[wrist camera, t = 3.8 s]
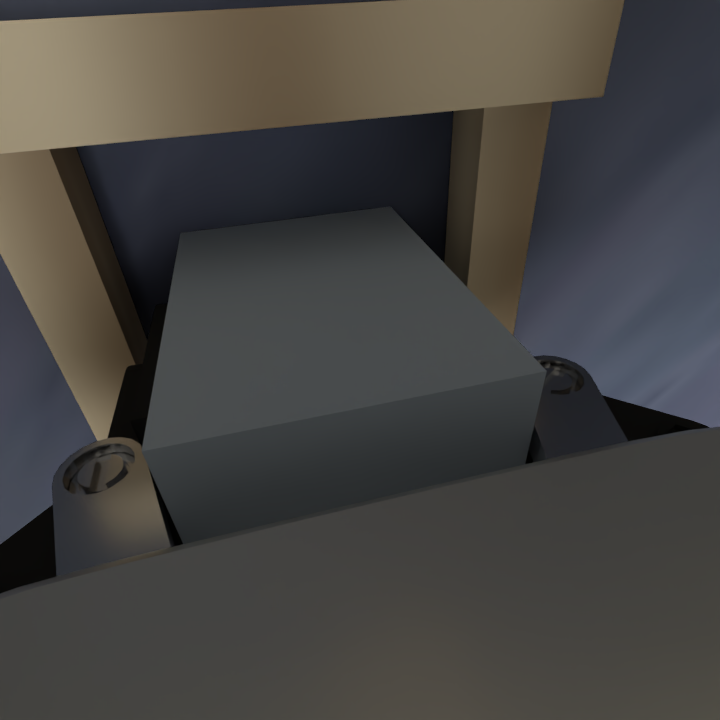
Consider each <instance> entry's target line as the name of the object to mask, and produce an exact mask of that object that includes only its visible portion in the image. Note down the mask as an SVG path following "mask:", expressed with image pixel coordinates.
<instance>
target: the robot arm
mask: <svg viewBox="0 0 720 720" xmlns="http://www.w3.org/2000/svg"><path fill="white" fill-rule="evenodd" d="M167 305H168V303H166V304H159V305H156V306H155V309H154V314H153V319H152V323H151V328H150V332H149V337H148V341H147V346H146V350H145V355H144V359H143V364H137V365H131V366H128V367H127V368H126V370H125V374H124V378H123V381H122V385H121V389H120V393H119V396H118V400H117V404H116V408H115V411H114V415H113V419H112V423H111V426H110V430H109V434H108V438H107V439H103V440H99V441H96V442H93V443H91V444H89V445H87V446H85V447H82V448H81V449H79V450H78V451H76V452H75V453H73V454H72V455H70V456H69V457H68V458H67V459H66V460H65V461H64V462H63V463H62V464H61V465H60V466H59V468H58V470H57V471H56V473H55V475H54V477H53V483H52V498H53V505H52V506H50V507H49V508H48V509H47V510H45V511H44V512H43V513H41V514H40V515H39V516H37V517H36V518H35V519H33V520H32V521H31V522H29V523H28V524H27V525H25V526H24V527H23V528H21V529H20V530H19V531H18V532H16V533H15V534H14V535H12V536H11V537H10V538H8V539H7V540H6V541H4V542H3V543H2V544H0V720H720V427H713V428H709V427H707V426H705V425H703V424H700V423H697V422H694V421H691V420H688V419H684V418H681V417H677V416H674V415H670V414H666V413H663V412H659V411H656V410H652V409H649V408H645V407H642V406H638V405H634V404H631V403H627V402H624V401H620V400H617V399H613V398H610V397H606V396H603V395H602V394H601V393H600V391H599V389H598V388H597V386H596V384H595V382H594V381H593V379H592V377H591V376H590V374H589V373H588V372H587V371H586V370H585V369H584V368H583V367H581V366H580V365H578V364H577V363H575V362H572V361H570V360H568V359H564V358H560V357H556V356H545V355H543V356H534V358H535V359H536V360H537V361H538V362H539V363H540V365H541V366H542V367H543V368H544V369H545V370H546V371H547V372H546V376H545V381H544V385H543V389H542V394H541V398H540V402H539V406H538V411H537V415H536V419H535V424H534V428H533V432H532V437H531V441H530V445H529V450H528V454H527V458H526V462H525V464H524V465H520V466H515V467H511V468H507V469H502V470H498V471H493V472H489V473H485V474H480V475H476V476H471V477H467V478H463V479H458V480H454V481H450V482H445V483H441V484H437V485H432V486H428V487H424V488H420V489H415V490H411V491H407V492H402V493H398V494H394V495H389V496H385V497H381V498H376V499H372V500H368V501H364V502H359V503H355V504H351V505H347V506H342V507H338V508H334V509H329V510H325V511H321V512H317V513H312V514H308V515H304V516H300V517H296V518H291V519H287V520H283V521H279V522H275V523H270V524H266V525H262V526H258V527H254V528H249V529H245V530H241V531H237V532H233V533H228V534H224V535H220V536H216V537H212V538H207V539H203V540H199V541H195V542H191V543H186V544H183V542H182V540H181V538H180V536H179V533H178V531H177V529H176V527H175V524H174V522H173V520H172V518H171V516H170V513H169V511H168V509H167V507H166V505H165V502H164V500H163V498H162V496H161V493H160V491H159V489H158V487H157V485H156V482H155V480H154V478H153V476H152V473H151V471H150V469H149V467H148V465H147V462H146V460H145V458H144V456H143V454H142V446H143V440H144V434H145V429H146V423H147V418H148V412H149V406H150V401H151V395H152V390H153V384H154V378H155V373H156V367H157V361H158V356H159V350H160V345H161V339H162V333H163V328H164V322H165V317H166V311H167Z"/></svg>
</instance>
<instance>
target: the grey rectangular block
mask: <svg viewBox="0 0 720 720" xmlns="http://www.w3.org/2000/svg"><path fill="white" fill-rule="evenodd" d="M546 372H547V371H546V370H545V369H544V368H543V367H542V366H541V365H540V363H539V362H538V361H537V360H536V359H535V358H534V357H533V356H532V355H531V354H530V353H529V352H528V351H527V350H526V349H525V348H524V347H523V346H522V345H521V343H520V342H519V341H518V340H517V339H516V338H515V337H514V336H513V335H512V334H511V333H510V332H509V331H508V330H507V329H506V328H505V327H504V326H503V325H502V323H501V322H500V321H499V320H498V319H497V318H496V317H495V316H494V315H493V314H492V313H491V312H490V311H489V310H488V309H487V308H486V307H485V306H484V305H483V303H482V302H481V301H480V300H479V299H478V298H477V297H476V296H475V295H474V294H473V293H472V292H471V291H470V290H469V289H468V288H467V287H466V286H465V285H464V283H463V282H462V281H461V280H460V279H459V278H458V277H457V276H456V275H455V274H454V273H453V272H452V271H451V270H450V269H449V268H448V267H447V266H446V265H445V263H444V262H443V261H442V260H441V259H440V258H439V257H438V256H437V255H436V254H435V253H434V252H433V251H432V250H431V249H430V248H429V247H428V246H427V245H426V244H425V242H424V241H423V240H422V239H421V238H420V237H419V236H418V235H417V234H416V233H415V232H414V231H413V230H412V229H411V228H410V227H409V226H408V225H407V224H406V222H405V221H404V220H403V219H402V218H401V217H400V216H399V215H398V214H397V213H396V212H395V211H394V210H393V209H392V208H391V207H382V208H374V209H367V210H359V211H351V212H343V213H335V214H327V215H319V216H311V217H303V218H295V219H287V220H279V221H271V222H264V223H256V224H248V225H240V226H232V227H224V228H216V229H208V230H200V231H192V232H184V233H180V238H179V244H178V249H177V255H176V260H175V266H174V272H173V277H172V283H171V289H170V294H169V300H168V305H167V311H166V317H165V322H164V328H163V333H162V339H161V345H160V350H159V356H158V361H157V367H156V373H155V378H154V384H153V390H152V395H151V401H150V406H149V412H148V418H147V423H146V429H145V434H144V440H143V446H142V454H143V456H144V458H145V460H146V462H147V465H148V467H149V469H150V471H151V473H152V476H153V478H154V480H155V482H156V485H157V487H158V489H159V491H160V493H161V496H162V498H163V500H164V502H165V505H166V507H167V509H168V511H169V513H170V516H171V518H172V520H173V522H174V524H175V527H176V529H177V531H178V533H179V536H180V538H181V540H182V542H183V544H186V543H191V542H195V541H199V540H203V539H207V538H212V537H216V536H220V535H224V534H228V533H233V532H237V531H241V530H245V529H249V528H254V527H258V526H262V525H266V524H270V523H275V522H279V521H283V520H287V519H291V518H296V517H300V516H304V515H308V514H312V513H317V512H321V511H325V510H329V509H334V508H338V507H342V506H347V505H351V504H355V503H359V502H364V501H368V500H372V499H376V498H381V497H385V496H389V495H394V494H398V493H402V492H407V491H411V490H415V489H420V488H424V487H428V486H432V485H437V484H441V483H445V482H450V481H454V480H458V479H463V478H467V477H471V476H476V475H480V474H485V473H489V472H493V471H498V470H502V469H507V468H511V467H515V466H520V465H524V464H525V462H526V458H527V454H528V450H529V445H530V441H531V437H532V432H533V428H534V424H535V419H536V415H537V411H538V406H539V402H540V398H541V394H542V389H543V385H544V381H545V376H546Z"/></svg>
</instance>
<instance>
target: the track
mask: <svg viewBox="0 0 720 720" xmlns="http://www.w3.org/2000/svg"><path fill="white" fill-rule="evenodd" d="M624 1H625V0H395V1H375V2H356V3H337V4H318V5H299V6H280V7H260V8H241V9H222V10H203V11H184V12H165V13H145V14H126V15H107V16H88V17H69V18H50V19H31V20H11V21H0V254H1V256H2V258H3V260H4V262H5V264H6V266H7V267H8V269H9V271H10V273H11V275H12V277H13V279H14V281H15V283H16V285H17V287H18V289H19V291H20V292H21V294H22V296H23V298H24V300H25V302H26V304H27V306H28V308H29V310H30V312H31V314H32V316H33V318H34V319H35V321H36V323H37V325H38V327H39V329H40V331H41V333H42V335H43V337H44V339H45V341H46V343H47V344H48V346H49V348H50V350H51V352H52V354H53V356H54V358H55V360H56V362H57V364H58V366H59V368H60V369H61V371H62V373H63V375H64V377H65V379H66V381H67V383H68V385H69V387H70V389H71V391H72V393H73V394H74V396H75V398H76V400H77V402H78V404H79V406H80V408H81V410H82V412H83V414H84V416H85V418H86V419H87V421H88V423H89V425H90V427H91V429H92V431H93V433H94V435H95V437H96V439H97V441H99V440H103V439H107V438H108V434H109V430H110V426H111V423H112V419H113V415H114V411H115V408H116V404H117V400H118V396H119V393H120V389H121V385H122V381H123V378H124V374H125V370H126V368H127V367H128V366H131V365H137V364H143V359H144V355H145V350H146V346H147V339H146V336H145V333H144V330H143V328H142V325H141V322H140V320H139V317H138V314H137V311H136V309H135V306H134V303H133V301H132V298H131V295H130V293H129V290H128V287H127V284H126V282H125V279H124V276H123V274H122V271H121V268H120V265H119V263H118V260H117V257H116V255H115V252H114V249H113V247H112V244H111V241H110V238H109V236H108V233H107V230H106V228H105V225H104V222H103V220H102V217H101V214H100V211H99V209H98V206H97V203H96V201H95V198H94V195H93V192H92V190H91V187H90V184H89V182H88V179H87V176H86V174H85V171H84V168H83V165H82V163H81V160H80V157H79V155H78V152H77V149H76V147H77V146H87V145H98V144H109V143H119V142H130V141H140V140H151V139H161V138H172V137H183V136H193V135H204V134H214V133H225V132H235V131H246V130H256V129H267V128H278V127H288V126H299V125H309V124H320V123H330V122H341V121H351V120H362V119H373V118H383V117H394V116H404V115H415V114H425V113H436V112H447V111H454V114H453V130H452V146H451V163H450V179H449V195H448V212H447V228H446V244H445V260H444V263H445V265H446V266H447V267H448V268H449V269H450V270H451V271H452V272H453V273H454V274H455V275H456V276H457V277H458V278H459V279H460V280H461V281H462V282H463V283H464V285H465V286H466V287H467V288H468V289H469V290H470V291H471V292H472V293H473V294H474V295H475V296H476V297H477V298H478V299H479V300H480V301H481V302H482V303H483V305H484V306H485V307H486V308H487V309H488V310H489V311H490V312H491V313H492V314H493V315H494V316H495V317H496V318H497V319H498V320H499V321H500V322H501V323H502V325H503V326H504V327H505V328H506V329H507V330H508V331H509V332H510V333H511V334H512V335H513V334H514V328H515V322H516V316H517V310H518V304H519V298H520V292H521V286H522V280H523V274H524V268H525V262H526V256H527V251H528V245H529V239H530V233H531V227H532V221H533V215H534V209H535V203H536V197H537V191H538V185H539V179H540V173H541V167H542V162H543V156H544V150H545V144H546V138H547V132H548V126H549V120H550V114H551V108H552V102H553V101H563V100H573V99H584V98H594V97H603V95H604V91H605V86H606V82H607V77H608V73H609V68H610V64H611V59H612V55H613V50H614V46H615V41H616V37H617V32H618V28H619V23H620V19H621V14H622V10H623V5H624Z"/></svg>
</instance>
